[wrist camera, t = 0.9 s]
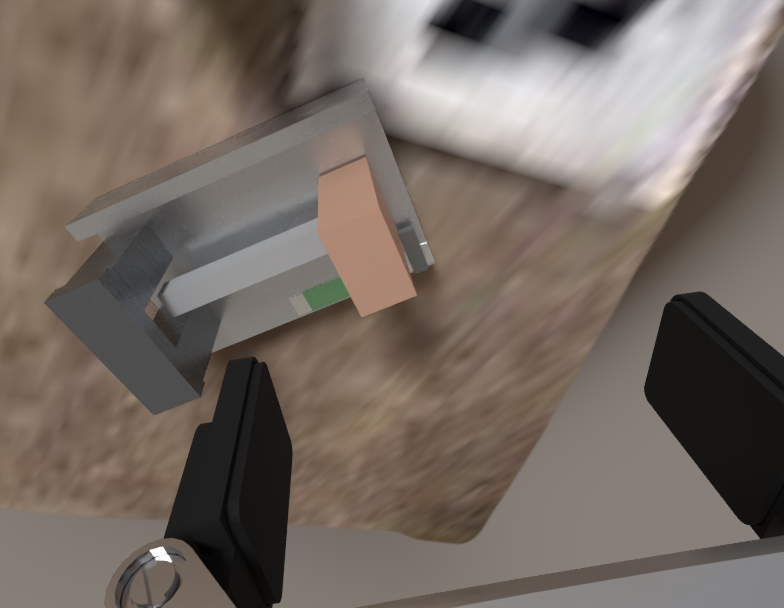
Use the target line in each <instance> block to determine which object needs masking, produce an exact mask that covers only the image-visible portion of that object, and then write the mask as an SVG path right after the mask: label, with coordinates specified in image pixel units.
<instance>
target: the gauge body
mask: <svg viewBox="0 0 784 608" xmlns="http://www.w3.org/2000/svg"><path fill="white" fill-rule="evenodd" d="M364 157H366V158H367V161H368V163H369V165H370V168H371V170H372V173H373V175H374V177H375V180H376V182H377V184H378V187H379V189H380V191H381V194H382V196H383V199H384V201H385V203H386V206H387V208H388V210H389V213H390V215H391V217H392V220H393V222H394V225H395V227H396V229H397V231H398V230H401V229H403V228H406V227H408V226H410V225H412V227H413V229H414V232H415V234H416V237H417V239H418V242H419V244H420V247H421V249H422V252H423V254H424V257H425V259H426V262H427V264H428V266H429V265H432V264H434V263H435V261H434V259H433V256H432V254H431V251H430V248H429V246H428V243H427V241H426V238H425V236H424V233H423V230H422V228H421V225H420V223H419V220H418V218H417V215H416V213H415V210H414V207H413V205H412V202H411V200H410V197H409V195H408V192H407V189H406V187H405V184H404V182H403V179H402V177H401V174H400V171H399V169H398V166H397V164H396V161H395V159H394V156H393V153H392V151H391V148H390V146H389V143H388V141H387V138H386V135H385V133H384V130H383V128H382V125H381V123H380V120H379V117H378V115H377V112H376V109H375V106H374V103H373V101H372V98H371V96H370V93H369V91H368V88H367V86H366V84H365V82H364V80H363V78H361V79H359V80H357V81H355V82H352V83H350V84H348V85H346V86H343V87H341V88H339V89H337V90H335V91H332V92H330V93H328V94H326V95H324V96H321V97H319V98H317V99H315V100H312V101H310V102H308V103H306V104H304V105H301V106H299V107H297V108H295V109H292V110H290V111H288V112H286V113H284V114H281V115H279V116H277V117H275V118H272V119H270V120H268V121H266V122H264V123H261V124H259V125H257V126H255V127H253V128H250V129H248V130H246V131H244V132H241V133H239V134H237V135H235V136H233V137H230V138H228V139H226V140H224V141H221V142H219V143H217V144H215V145H213V146H210V147H208V148H206V149H204V150H201V151H199V152H197V153H195V154H193V155H190V156H188V157H186V158H184V159H181V160H179V161H177V162H175V163H173V164H170V165H168V166H166V167H164V168H162V169H159V170H157V171H155V172H153V173H150V174H148V175H146V176H144V177H142V178H139V179H137V180H135V181H133V182H130V183H128V184H126V185H124V186H122V187H119V188H117V189H115V190H113V191H110V192H108V193H106V194H104V195H102V196H99V197H97V198H95V199H94V200H93V201H92V202H91V203H90V204H89V205H88V206H87V207H86V208H85V209H83V210H82V211H81V212H80V213H79V214H78V215H77V216H76V217H75V218H74V219H72V220H71V221H70V222H69V223H68V224H67V225H66V226H65V228H66V229H67V230H68V231H69V232H70V233H71V235H72V236H73V237H74V238H75V239H76V240H77V242H78V241H81V240H83V239H85V238H87V237H90V236H92V235H94V234H98V235H99V237H100V238H101V239H102V240H103V242H102V244H101V245H100V246H99V247H98V248H97V249H96V250H95V252H94V253H93V254H92V255H91V256H90V257H89V258H88V260H87V261H86V262H85V263H84V264H83V265H82V266H81V268H80V269H79V270H78V271H77V272H76V273H75V274H74V276H73V277H72V278H71V279H70V280H69V281H68V282H67V284H66V285H65V286H63V287H61V288H58V289H56V290H55V291H54V292H53V293H52V294H51V295H50V296H49V297H48V299H47V300H46V301H45V302H44V303H45V304H46V305H47V306H48V307H49V308H50V309H51V311H52V312H53V313H54V314H55V315H56V316H57V317H58V318H59V319H60V320H61V321H62V322H63V323H64V324H65V325H66V326H67V327H68V328H69V329H70V330H71V331H72V332H73V333H74V334H75V335H76V336H77V337H78V338H79V339H80V340H81V341H82V342H83V343H84V344H85V345H86V346H87V347H88V348H89V349H90V350H91V351H92V352H93V353H94V355H95V356H96V357H97V358H98V359H99V360H100V361H101V362H102V363H103V364H104V365H105V366H106V367H107V368H108V369H109V370H110V371H111V372H112V373H113V374H114V375H115V376H116V377H117V378H118V379H119V380H120V381H121V382H122V383H123V384H124V385H125V386H126V387H127V388H128V389H129V390H130V391H131V392H132V393H133V394H134V395H135V396H136V398H137V399H138V400H139V401H140V402H141V403H142V404H143V405H144V406H145V407H146V408H147V409H148V410H149V411H150V412H151V413H152V414H153V415H156V414H159V413H161V412H164V411H166V410H169V409H172V408H174V407H177V406H179V405H182V404H184V403H187V402H189V401H192V400H194V399H197V398H200V397H201V394H202V391H203V388H204V384H205V382H204V381H203V379H204V376H205V372H206V369H207V366H208V363H209V359H210V356H211V353H213V352H215V351H218V350H220V349H223V348H225V347H228V346H230V345H233V344H235V343H238V342H240V341H243V340H245V339H248V338H250V337H253V336H255V335H258V334H260V333H263V332H265V331H268V330H270V329H273V328H275V327H278V326H280V325H283V324H285V323H287V322H290V321H292V320H295V319H297V318H300V317H302V316H305V315H307V314H310V313H312V312H315V311H317V310H320V309H322V308H325V307H327V306H330V305H332V304H335V303H337V302H340V301H342V300H345V299H347V298H350V297H351V296H350V295H349V293H348V291H347V289H346V287H345V285H344V283H343V281H342V279H341V278H340V276H339V274H338V272H337V270H336V268H335V266H334V264H333V262H332V260H331V259H330V257H329V255H328V254H326V255H323V256H321V257H318V258H316V259H314V260H311V261H309V262H306V263H304V264H302V265H299V266H297V267H294V268H292V269H289V270H287V271H285V272H282V273H280V274H277V275H275V276H273V277H270V278H268V279H265V280H263V281H260V282H258V283H256V284H253V285H251V286H248V287H246V288H244V289H241V290H239V291H236V292H234V293H231V294H229V295H227V296H224V297H222V298H219V299H217V300H215V301H212V302H210V303H207V304H205V305H202V306H200V307H198V308H195V309H193V310H190V311H188V312H186V313H183V314H181V315H178V316H176V317H173V316H172V315H171V314H170V312H169V311H168V310H167V309H166V307H165V306H164V305H163V304H162V302H161V301H160V300H159V299H158V297H157V295H158V293H159V292H160V290H161V288H162V286H163V284H164V283H165V282H167V281H169V280H172V279H174V278H177V277H179V276H181V275H184V274H186V273H188V272H191V271H193V270H195V269H198V268H200V267H203V266H205V265H207V264H210V263H212V262H214V261H217V260H219V259H221V258H224V257H226V256H229V255H231V254H233V253H236V252H238V251H240V250H243V249H245V248H247V247H250V246H252V245H255V244H257V243H259V242H262V241H264V240H266V239H269V238H271V237H273V236H276V235H278V234H281V233H283V232H285V231H288V230H290V229H292V228H295V227H297V226H299V225H302V224H304V223H307V222H309V221H311V220H314V219H316V218H318V184H319V177H320V176H322V175H325V174H327V173H329V172H332V171H334V170H336V169H339V168H341V167H343V166H346V165H348V164H350V163H353V162H355V161H357V160H359V159H362V158H364ZM398 236H399V235H398ZM399 239H400V238H399ZM400 242H401V240H400ZM401 245H402V243H401ZM402 248H403V252H404V255H405V258H406V261H407V264H408V268H409V271H410V273H412V272H414V271H413V269H412V266H411V264H410V261H409V259H408V257H407V254H406V252H405V250H404V247H403V245H402ZM150 299H151V300H152V301H153V303H154V304H155V305H156V306H157V307H158V309H159V310H158V312H157V314H156V316H155V318H154V320H152V319H151V318H150V317H149V316H148V314H147V313H146V312H145V311H144V309H145V307H146V306H147V304H148V302H149V300H150Z"/></svg>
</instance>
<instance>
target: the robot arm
mask: <svg viewBox="0 0 784 608" xmlns="http://www.w3.org/2000/svg"><path fill="white" fill-rule="evenodd" d="M644 392H645V396H646V398H647V400H648V402H649V403H650V405H651V406H652V407H653V408H654V410H655V411H656V412H657V414H658V415H659V416H660V418H661V419H662V420H663V421H664V423H665V424H666V425H667V427H668V428H669V429H670V431H671V432H672V433H673V435H674V436H675V437H676V438H677V440H678V441H679V442H680V443H681V445H682V446H683V447H684V449H685V450H686V451H687V453H688V454H689V455H690V457H691V458H692V459H693V460H694V462H695V463H696V464H697V466H698V467H699V468H700V469H701V471H702V472H703V474H704V475H705V476H706V477H707V479H708V480H709V481H710V483H711V484H712V485H713V486H714V488H715V489H716V490H717V492H718V493H719V494H720V496H721V497H722V498H723V499H724V501H725V502H726V503H727V505H728V506H729V507H730V508H731V510H732V511H733V512H734V514H735V515H736V516H737V518H738V519H739V520H740V521H741V522H743V523H744V524H746V525H750V526H751V527H752V529H753V530H754V531H755V533H756V534H757V535H758V536H759V537H760V539H758V540H752V541H746V542H740V543H734V544H727V545H721V546H715V547H709V548H702V549H696V550H690V551H684V552H678V553H672V554H665V555H659V556H653V557H648V558H641V559H635V560H629V561H623V562H618V563H611V564H605V565H600V566H593V567H587V568H581V569H575V570H569V571H563V572H557V573H551V574H545V575H539V576H533V577H528V578H522V579H516V580H510V581H504V582H498V583H493V584H487V585H481V586H476V587H469V588H464V589H458V590H452V591H446V592H440V593H435V594H429V595H423V596H417V597H412V598H405V599H400V600H396V601H390V602H384V603H379V604H374V605H368V606H363V607H358V608H784V356H782V355H781V354H780V353H779V352H778V351H776V350H775V349H774V348H773V347H771V346H770V345H769V344H768V343H766V342H765V341H764V340H763V339H762V338H760V337H759V336H758V335H756V334H755V333H754V332H753V331H752V330H750V329H749V328H748V327H747V326H746V325H744V324H743V323H742V322H741V321H739V320H738V319H737V318H735V317H734V316H733V315H732V314H731V313H730V312H728V311H727V310H726V309H725V308H723V307H722V306H721V305H720V304H718V303H717V302H716V301H715V300H714V299H712V298H711V297H710V296H709V295H707V294H706V293H704V292H693V293H686V294H679V295H675V296H674V297H673V298H672V299H671V301H670V302H669V303H667V304H666V305H665V307H664V310H663V315H662V318H661V322H660V326H659V330H658V334H657V339H656V342H655V346H654V350H653V354H652V358H651V362H650V366H649V370H648V374H647V378H646V382H645V386H644ZM291 470H292V444H291V440H290V437H289V433H288V430H287V427H286V424H285V421H284V418H283V415H282V411H281V408H280V405H279V402H278V399H277V396H276V392H275V389H274V386H273V383H272V380H271V377H270V374H269V370H268V367H267V365H266V363H265V362H261V363H258V361H257V359H256V358H255V357H251V358H244V359H237V360H230V361H229V362H228V365H227V368H226V372H225V376H224V379H223V383H222V387H221V391H220V394H219V398H218V402H217V406H216V409H215V413H214V417H213V421H212V422H210V423H204V424H200V425H199V426H198V427H197V429H196V432H195V435H194V438H193V441H192V445H191V448H190V451H189V455H188V458H187V461H186V465H185V468H184V471H183V475H182V478H181V482H180V485H179V488H178V492H177V495H176V498H175V502H174V505H173V508H172V512H171V515H170V518H169V522H168V525H167V529H166V532H165V535H164V539H159V540H157V541H154V542H151V543H148V544H146V545H144V546H143V547H141V548H140V549H138V550H136V551H135V552H133V553H132V554H131V555H130V556H129V557H128V558H127V559H126V560H125V561H124V562H122V564H121V565H120V566H119V568H118V569H117V570H116V572H115V573H114V574H113V576H112V578H111V580H110V583H109V585H108V587H107V589H106V595H105V602H104V604H105V608H272V605H273V604H275V603H280V601H281V598H282V589H283V575H284V562H285V549H286V536H287V535H286V534H287V523H288V509H289V496H290V483H291Z"/></svg>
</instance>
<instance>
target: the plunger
mask: <svg viewBox="0 0 784 608" xmlns="http://www.w3.org/2000/svg"><path fill="white" fill-rule="evenodd" d="M398 235H399V236H398ZM399 238H400V239H399ZM400 240H401V242H400ZM401 243H402V245H403V247H404V250H405V252H406V254H407V257H408V259H409V261H410V264H411V266H412V269H413V271H414V273H415V275H416V274H418V273H421V272H423V271H426V270H428V269H429V267H428V264H427V262H426V259H425V257H424V254H423V252H422V249H421V247H420V244H419V242H418V239H417V237H416V234H415V232H414V229H413V227H412V225H410V226H408V227H406V228H403V229H401V230H398V231H397V229H396V227H395V225H394V222H393V220H392V217H391V215H390V213H389V210H388V208H387V206H386V203H385V201H384V199H383V196H382V194H381V191H380V189H379V187H378V184H377V182H376V180H375V177H374V175H373V173H372V170H371V168H370V165H369V163H368V161H367V158H366V157H364V158H362V159H359V160H357V161H355V162H353V163H350V164H348V165H346V166H343V167H341V168H339V169H336V170H334V171H332V172H329V173H327V174H325V175H322V176H320V177H319V184H318V218H316V219H314V220H311V221H309V222H307V223H304V224H302V225H299V226H297V227H295V228H292V229H290V230H288V231H285V232H283V233H281V234H278V235H276V236H273V237H271V238H269V239H266V240H264V241H262V242H259V243H257V244H255V245H252V246H250V247H247V248H245V249H243V250H240V251H238V252H236V253H233V254H231V255H229V256H226V257H224V258H221V259H219V260H217V261H214V262H212V263H210V264H207V265H205V266H203V267H200V268H198V269H195V270H193V271H191V272H188V273H186V274H184V275H181V276H179V277H177V278H174V279H172V280H169V281H167V282H165V283H164V284H163V286H162V288H161V290H160V292H159V293H158V295H157V297H158V299H159V300H160V301H161V302H162V304H163V305H164V306H165V307H166V309H167V310H168V311H169V312H170V314H171V315H172V316H173V317H176V316H178V315H181V314H183V313H186V312H188V311H190V310H193V309H195V308H198V307H200V306H202V305H205V304H207V303H210V302H212V301H215V300H217V299H219V298H222V297H224V296H227V295H229V294H231V293H234V292H236V291H239V290H241V289H244V288H246V287H248V286H251V285H253V284H256V283H258V282H260V281H263V280H265V279H268V278H270V277H273V276H275V275H277V274H280V273H282V272H285V271H287V270H289V269H292V268H294V267H297V266H299V265H302V264H304V263H306V262H309V261H311V260H314V259H316V258H318V257H321V256H323V255H326V254H328V255H329V257H330V259H331V260H332V262H333V264H334V266H335V268H336V270H337V272H338V274H339V276H340V278H341V279H342V281H343V283H344V285H345V287H346V289H347V291H348V293H349V295H350V296H351V298H352V300H353V302H354V304H355V306H356V308H357V310H358V312H359V313H360V315H361V317H364V316H367V315H369V314H372V313H374V312H377V311H379V310H382V309H384V308H387V307H389V306H392V305H394V304H397V303H399V302H402V301H405V300H407V299H410V298H412V297H415V296H417V293H416V290H415V287H414V284H413V280H412V277H411V274H410V271H409V268H408V264H407V261H406V258H405V255H404V252H403V248H402V245H401Z"/></svg>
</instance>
